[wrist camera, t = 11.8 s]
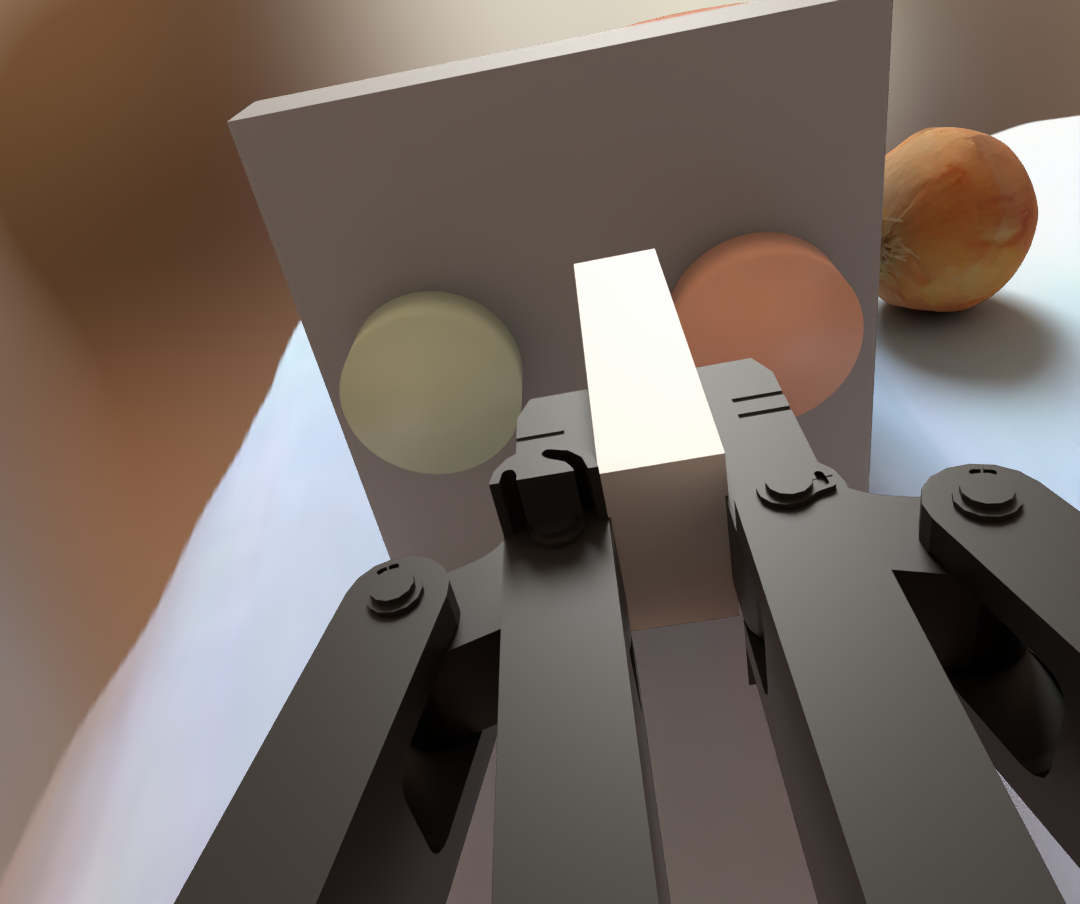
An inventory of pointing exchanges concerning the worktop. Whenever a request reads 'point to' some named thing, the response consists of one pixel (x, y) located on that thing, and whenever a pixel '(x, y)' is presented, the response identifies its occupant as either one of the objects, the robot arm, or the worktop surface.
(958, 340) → the worktop surface
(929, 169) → the onion
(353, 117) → the panel
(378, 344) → the sage button
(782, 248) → the terracotta button
